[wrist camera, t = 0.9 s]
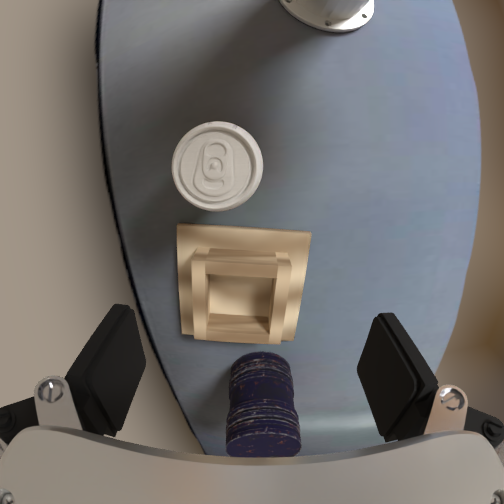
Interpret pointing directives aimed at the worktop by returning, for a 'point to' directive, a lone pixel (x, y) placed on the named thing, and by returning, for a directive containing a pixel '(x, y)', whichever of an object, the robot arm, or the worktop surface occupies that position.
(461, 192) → the worktop surface
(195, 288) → the can holder
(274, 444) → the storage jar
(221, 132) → the beer can
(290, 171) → the worktop surface
